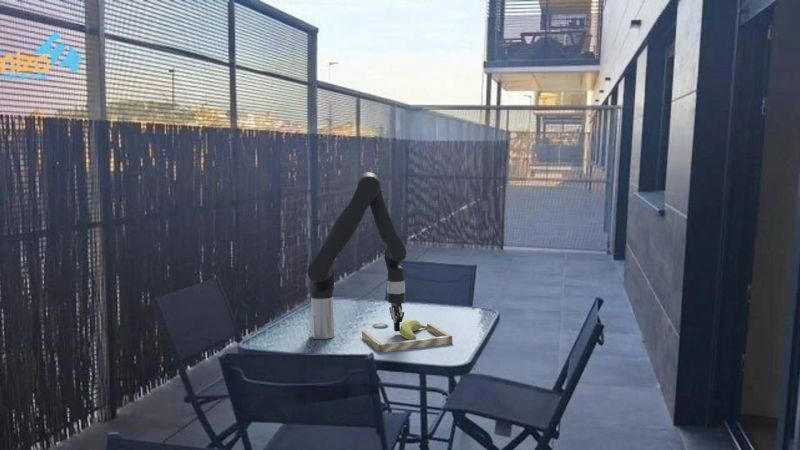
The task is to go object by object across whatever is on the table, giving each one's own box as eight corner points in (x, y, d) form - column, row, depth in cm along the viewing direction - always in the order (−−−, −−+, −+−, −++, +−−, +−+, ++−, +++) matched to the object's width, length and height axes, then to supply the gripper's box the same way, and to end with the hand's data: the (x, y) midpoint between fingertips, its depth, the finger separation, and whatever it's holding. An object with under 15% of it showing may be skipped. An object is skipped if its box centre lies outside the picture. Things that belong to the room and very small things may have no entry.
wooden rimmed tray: (379, 352, 270) (379, 345, 269) (362, 337, 292) (361, 330, 291) (452, 343, 280) (452, 336, 280) (430, 329, 302) (430, 323, 302)
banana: (391, 320, 292) (420, 316, 307) (387, 332, 293) (417, 328, 308) (415, 333, 283) (443, 328, 299) (411, 345, 284) (440, 340, 300)
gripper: (382, 289, 299) (383, 328, 301) (392, 294, 286) (393, 335, 288) (399, 287, 301) (400, 326, 303) (409, 293, 289) (410, 333, 291)
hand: (397, 331), depth 296 cm, fingers closed
